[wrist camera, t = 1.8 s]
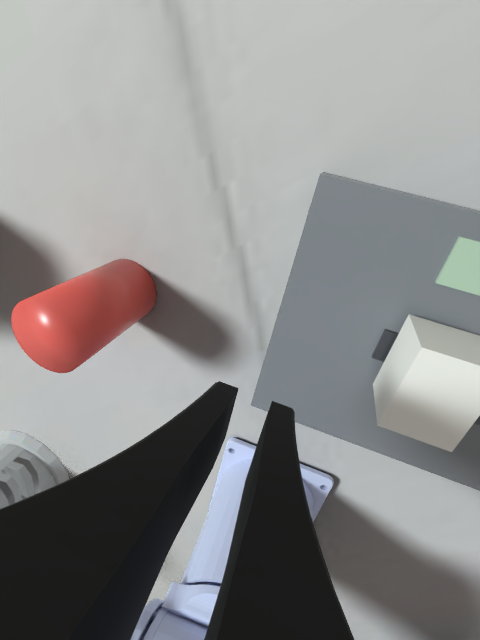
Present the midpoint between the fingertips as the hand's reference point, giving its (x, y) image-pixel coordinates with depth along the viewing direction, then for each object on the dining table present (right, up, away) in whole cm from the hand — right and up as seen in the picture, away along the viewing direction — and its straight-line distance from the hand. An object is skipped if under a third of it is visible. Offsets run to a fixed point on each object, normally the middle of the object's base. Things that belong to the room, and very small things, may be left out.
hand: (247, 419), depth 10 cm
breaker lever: (+8, +1, +5) cm, 10 cm away
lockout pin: (-8, +5, +12) cm, 15 cm away
